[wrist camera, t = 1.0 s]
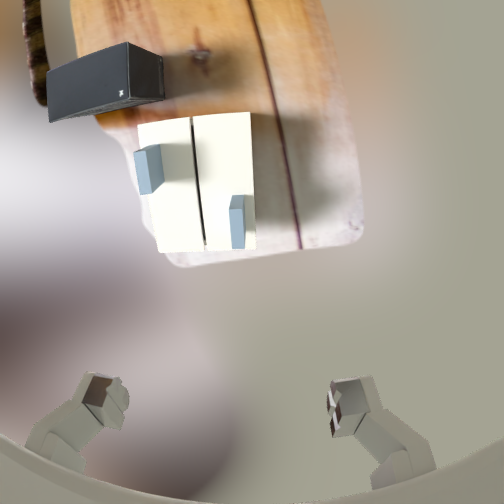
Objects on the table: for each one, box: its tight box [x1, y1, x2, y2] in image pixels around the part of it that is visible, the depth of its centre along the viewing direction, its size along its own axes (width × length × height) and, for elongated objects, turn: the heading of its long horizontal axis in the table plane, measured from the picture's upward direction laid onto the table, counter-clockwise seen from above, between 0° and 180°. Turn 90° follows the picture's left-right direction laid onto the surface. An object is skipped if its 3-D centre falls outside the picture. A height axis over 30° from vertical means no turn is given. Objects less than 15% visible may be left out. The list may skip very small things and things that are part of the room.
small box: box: [47, 42, 165, 123], centre depth 24 cm, size 11×6×10 cm, turn 92°
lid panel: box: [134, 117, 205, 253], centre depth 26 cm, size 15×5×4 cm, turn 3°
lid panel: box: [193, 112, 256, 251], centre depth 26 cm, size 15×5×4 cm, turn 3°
